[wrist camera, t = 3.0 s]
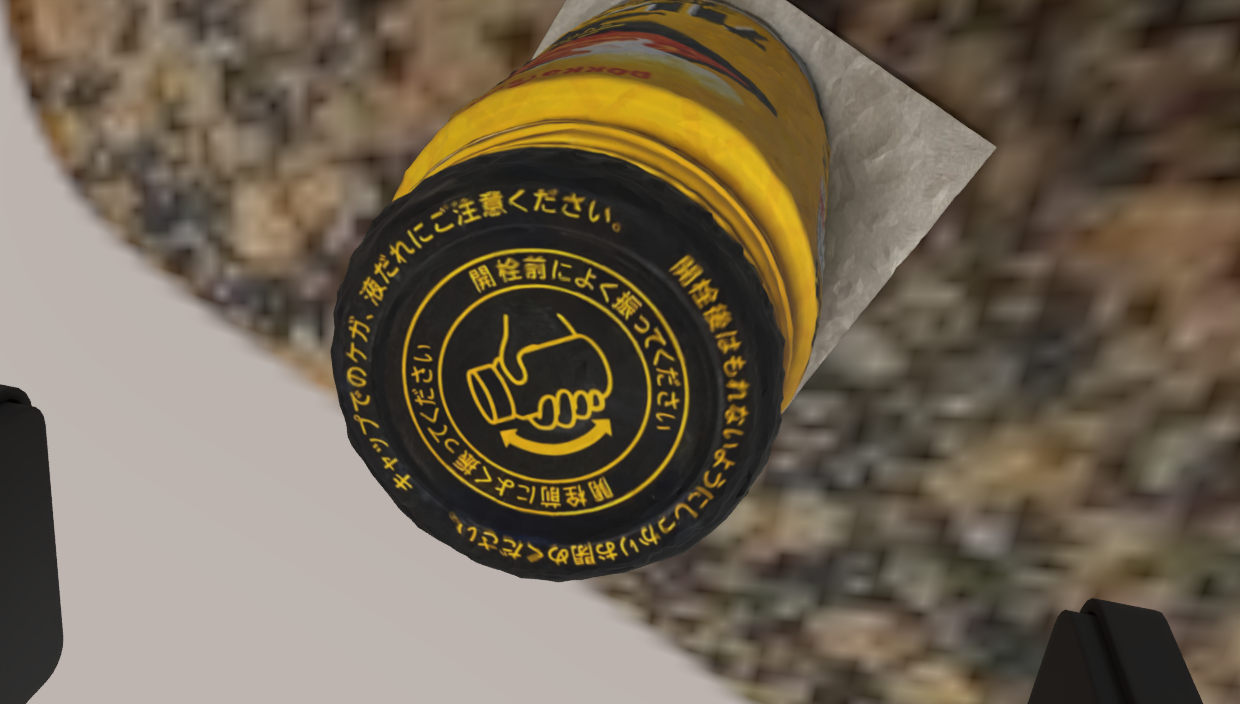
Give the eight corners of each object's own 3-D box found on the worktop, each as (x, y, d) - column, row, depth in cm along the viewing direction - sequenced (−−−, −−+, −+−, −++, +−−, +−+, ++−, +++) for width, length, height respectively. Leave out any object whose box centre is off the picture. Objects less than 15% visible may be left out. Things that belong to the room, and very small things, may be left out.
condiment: (630, -109, 22) (424, -54, 11) (995, 145, 23) (1134, 427, 12) (449, 200, 25) (152, 476, 14) (776, 415, 26) (728, 834, 15)
